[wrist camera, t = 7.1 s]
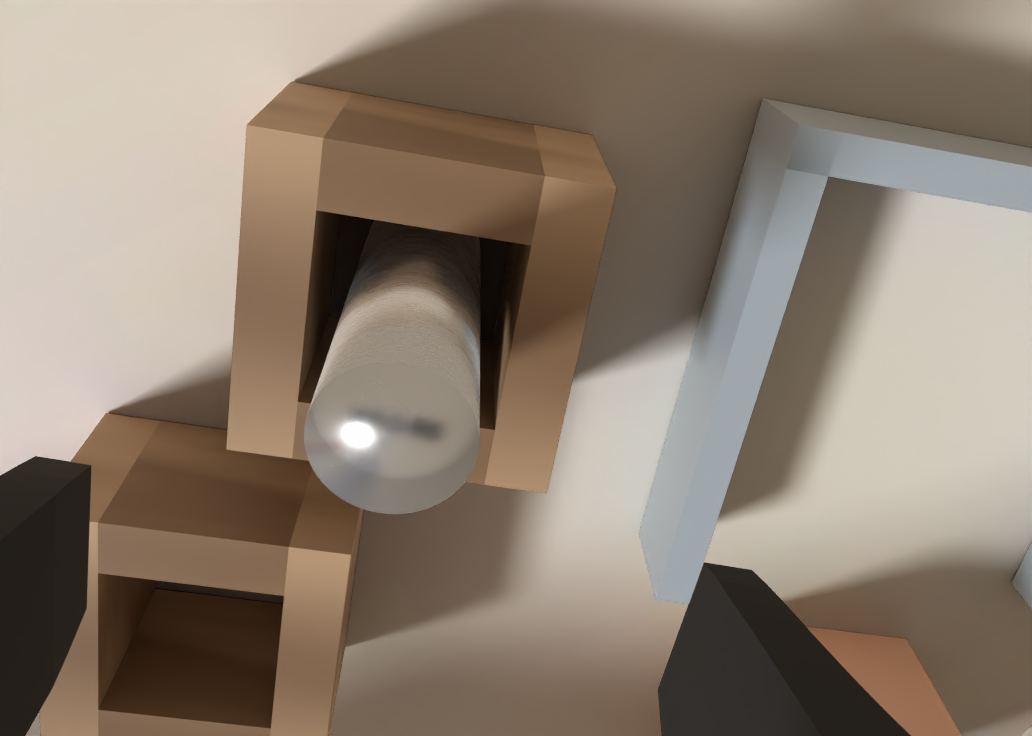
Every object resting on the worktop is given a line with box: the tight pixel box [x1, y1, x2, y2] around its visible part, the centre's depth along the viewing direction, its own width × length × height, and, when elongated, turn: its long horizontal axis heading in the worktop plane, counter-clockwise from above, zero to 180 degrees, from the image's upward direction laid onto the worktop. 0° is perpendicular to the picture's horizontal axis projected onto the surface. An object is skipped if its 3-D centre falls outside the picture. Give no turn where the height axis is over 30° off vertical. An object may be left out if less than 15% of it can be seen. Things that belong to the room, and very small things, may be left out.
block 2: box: [226, 82, 617, 493], centre depth 19 cm, size 6×6×4 cm
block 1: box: [40, 413, 364, 736], centre depth 22 cm, size 6×6×4 cm
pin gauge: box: [304, 220, 481, 514], centre depth 17 cm, size 2×2×8 cm
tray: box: [639, 98, 1032, 610], centre depth 21 cm, size 11×11×2 cm
